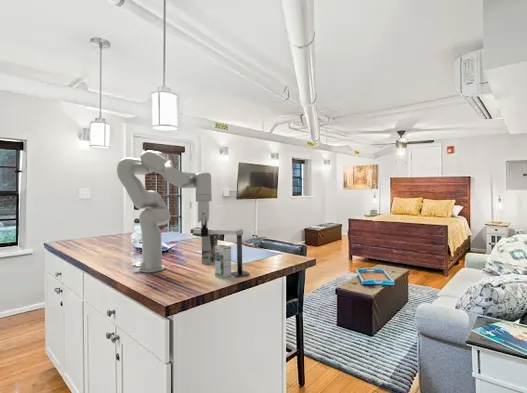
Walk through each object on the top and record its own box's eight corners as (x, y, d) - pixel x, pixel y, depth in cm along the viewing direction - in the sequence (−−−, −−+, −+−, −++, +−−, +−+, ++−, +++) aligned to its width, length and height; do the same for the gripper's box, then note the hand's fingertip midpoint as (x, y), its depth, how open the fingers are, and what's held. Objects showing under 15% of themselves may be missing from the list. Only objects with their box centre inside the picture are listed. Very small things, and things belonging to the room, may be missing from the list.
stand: (236, 277, 147) (235, 237, 146) (230, 274, 153) (229, 235, 152) (249, 275, 150) (249, 235, 150) (243, 272, 156) (242, 233, 156)
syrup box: (214, 276, 150) (214, 245, 150) (224, 273, 154) (224, 244, 154) (221, 278, 146) (221, 247, 146) (231, 275, 150) (231, 245, 150)
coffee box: (212, 264, 173) (212, 235, 172) (201, 264, 174) (201, 234, 174) (218, 260, 182) (217, 232, 181) (207, 260, 183) (207, 232, 182)
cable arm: (244, 234, 152) (244, 229, 152) (241, 235, 149) (241, 230, 149) (193, 232, 159) (193, 228, 159) (190, 233, 156) (190, 229, 156)
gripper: (196, 198, 159) (197, 234, 159) (194, 199, 144) (195, 239, 144) (211, 197, 160) (212, 233, 160) (211, 198, 145) (212, 238, 145)
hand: (204, 236), depth 152 cm, fingers closed
